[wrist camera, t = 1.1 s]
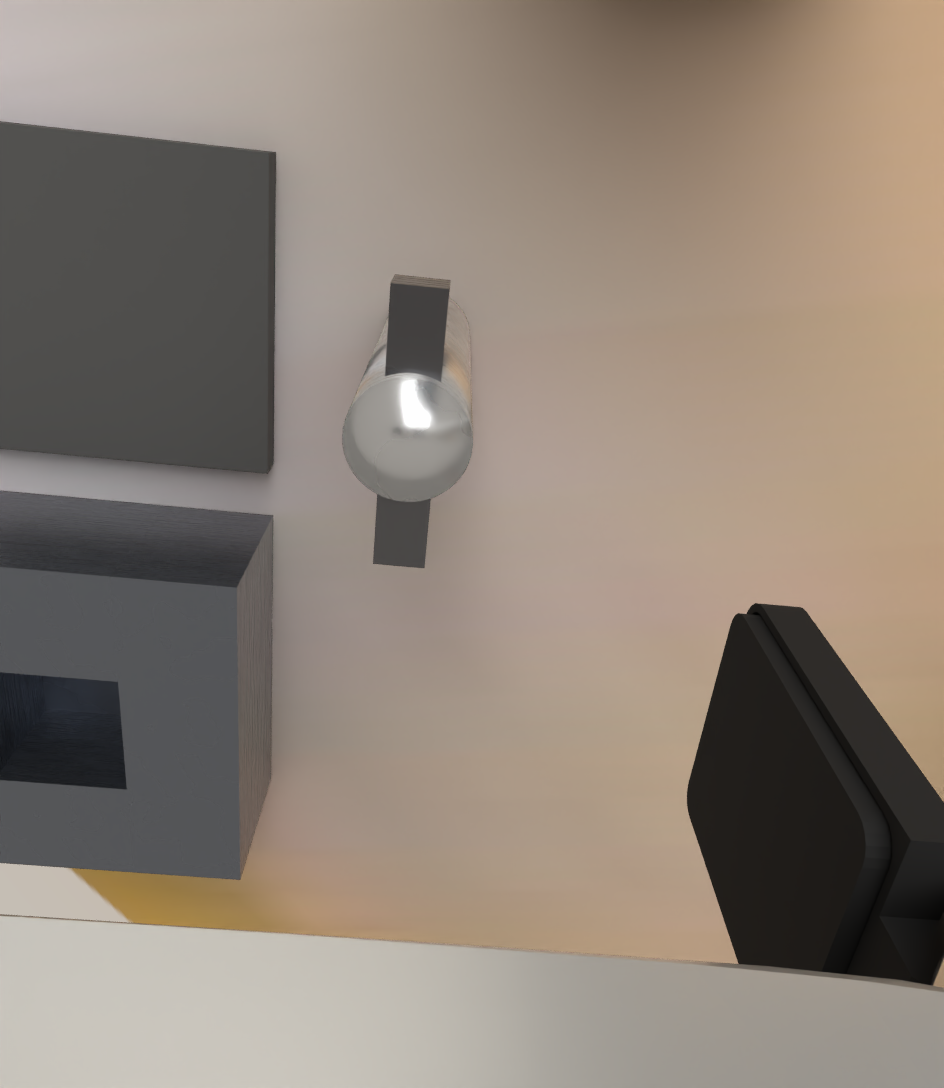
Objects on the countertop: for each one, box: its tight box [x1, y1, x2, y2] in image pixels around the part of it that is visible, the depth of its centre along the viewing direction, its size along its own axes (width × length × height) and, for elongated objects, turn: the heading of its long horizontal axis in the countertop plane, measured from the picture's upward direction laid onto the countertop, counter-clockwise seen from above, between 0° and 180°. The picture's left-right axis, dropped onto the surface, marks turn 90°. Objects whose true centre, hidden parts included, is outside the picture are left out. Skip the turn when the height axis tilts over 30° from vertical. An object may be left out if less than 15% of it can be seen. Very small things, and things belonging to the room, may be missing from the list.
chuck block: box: [0, 491, 273, 880], centre depth 31 cm, size 12×12×6 cm
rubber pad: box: [0, 121, 276, 474], centre depth 28 cm, size 10×10×1 cm
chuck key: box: [342, 274, 473, 568], centre depth 24 cm, size 3×6×11 cm, turn 174°
